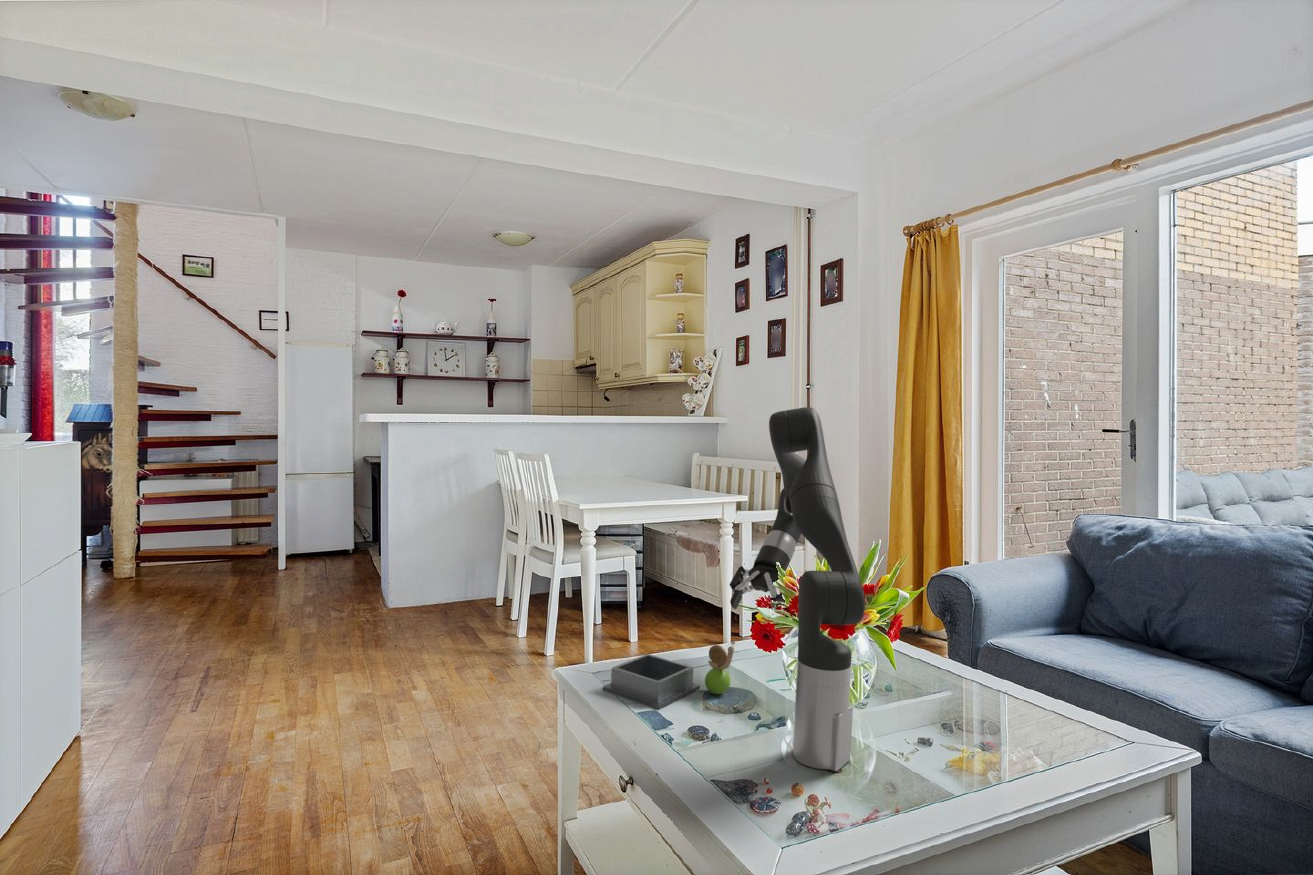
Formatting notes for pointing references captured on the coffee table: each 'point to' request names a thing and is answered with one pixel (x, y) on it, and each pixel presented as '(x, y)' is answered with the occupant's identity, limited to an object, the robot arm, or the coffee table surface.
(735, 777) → the coffee table surface
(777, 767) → the coffee table surface
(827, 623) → the robot arm
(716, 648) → the snail figurine
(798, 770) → the coffee table surface
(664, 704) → the duct collar
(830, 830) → the coffee table surface
